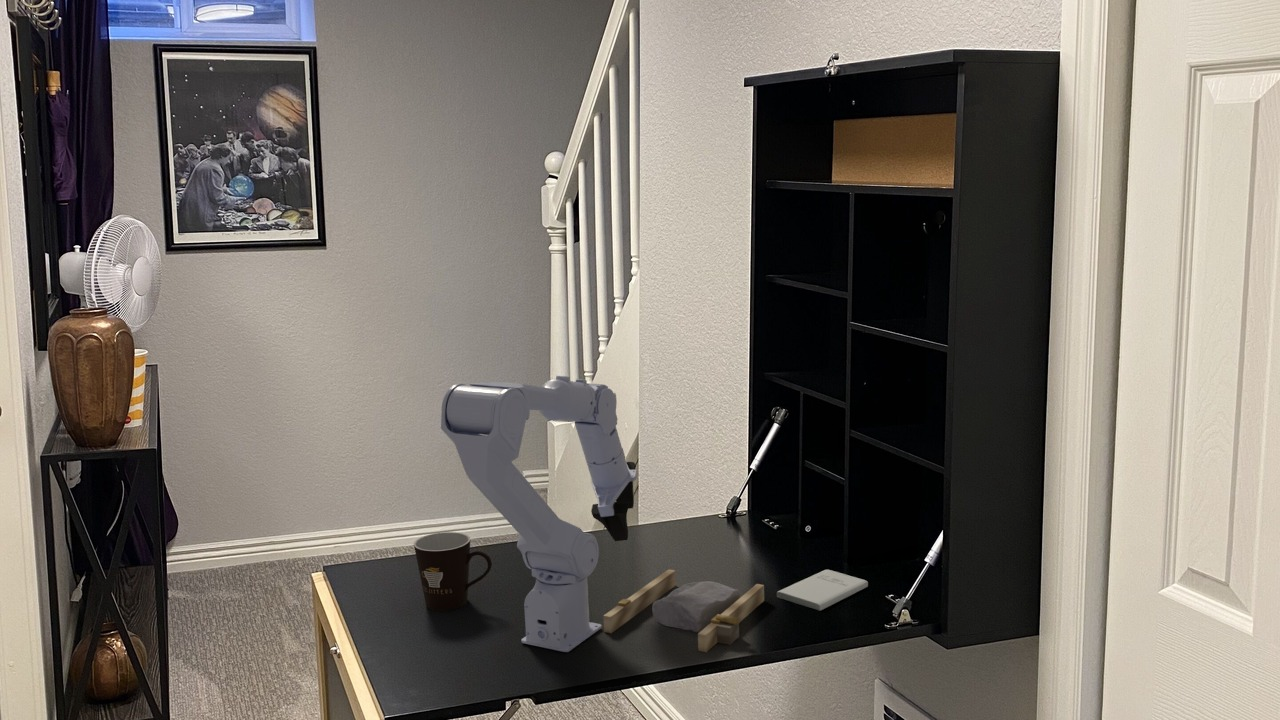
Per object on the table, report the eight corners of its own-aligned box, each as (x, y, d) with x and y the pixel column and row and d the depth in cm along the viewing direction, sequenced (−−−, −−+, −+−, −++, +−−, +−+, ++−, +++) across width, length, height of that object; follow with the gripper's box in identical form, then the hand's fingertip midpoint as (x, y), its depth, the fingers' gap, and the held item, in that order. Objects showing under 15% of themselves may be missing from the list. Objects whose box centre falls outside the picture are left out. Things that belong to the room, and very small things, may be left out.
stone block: (647, 633, 172) (702, 635, 166) (642, 601, 172) (696, 602, 166) (693, 609, 181) (747, 610, 175) (688, 579, 181) (741, 579, 175)
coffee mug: (407, 604, 182) (402, 543, 180) (451, 587, 188) (447, 528, 186) (454, 623, 174) (449, 559, 172) (498, 605, 180) (494, 543, 178)
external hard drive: (776, 600, 179) (825, 577, 187) (820, 614, 173) (868, 589, 182) (776, 590, 179) (825, 567, 187) (819, 604, 173) (868, 580, 181)
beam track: (723, 655, 159) (722, 631, 159) (604, 631, 168) (602, 609, 168) (780, 603, 176) (779, 581, 176) (668, 584, 186) (668, 563, 185)
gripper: (623, 479, 168) (644, 551, 175) (634, 422, 180) (653, 491, 187) (576, 485, 169) (599, 556, 176) (590, 427, 182) (611, 496, 188)
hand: (624, 523), depth 182 cm, fingers open, 7 cm apart
